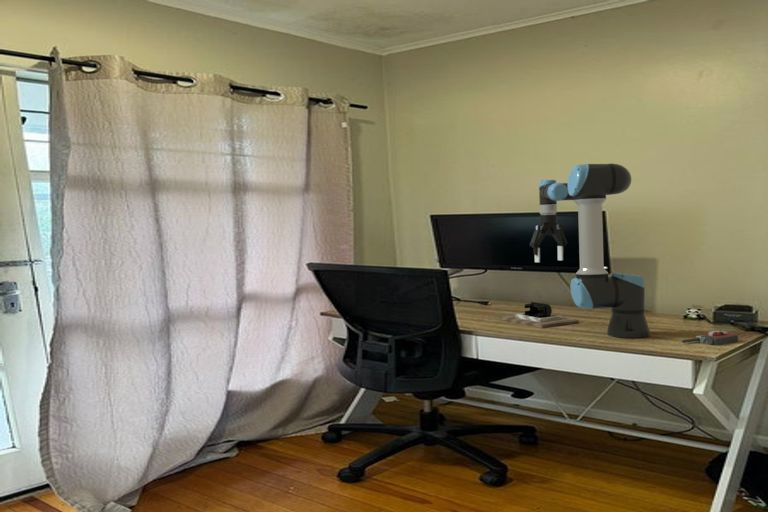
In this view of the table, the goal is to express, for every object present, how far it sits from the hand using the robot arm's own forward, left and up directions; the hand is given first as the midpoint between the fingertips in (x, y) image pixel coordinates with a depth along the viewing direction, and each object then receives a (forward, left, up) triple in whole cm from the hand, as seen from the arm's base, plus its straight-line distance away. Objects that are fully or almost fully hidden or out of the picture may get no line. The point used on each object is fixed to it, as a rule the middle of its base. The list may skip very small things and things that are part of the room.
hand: (549, 261), depth 296 cm
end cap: (-8, +14, -24) cm, 29 cm away
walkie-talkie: (-79, -2, -25) cm, 83 cm away
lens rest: (-8, +14, -25) cm, 30 cm away
